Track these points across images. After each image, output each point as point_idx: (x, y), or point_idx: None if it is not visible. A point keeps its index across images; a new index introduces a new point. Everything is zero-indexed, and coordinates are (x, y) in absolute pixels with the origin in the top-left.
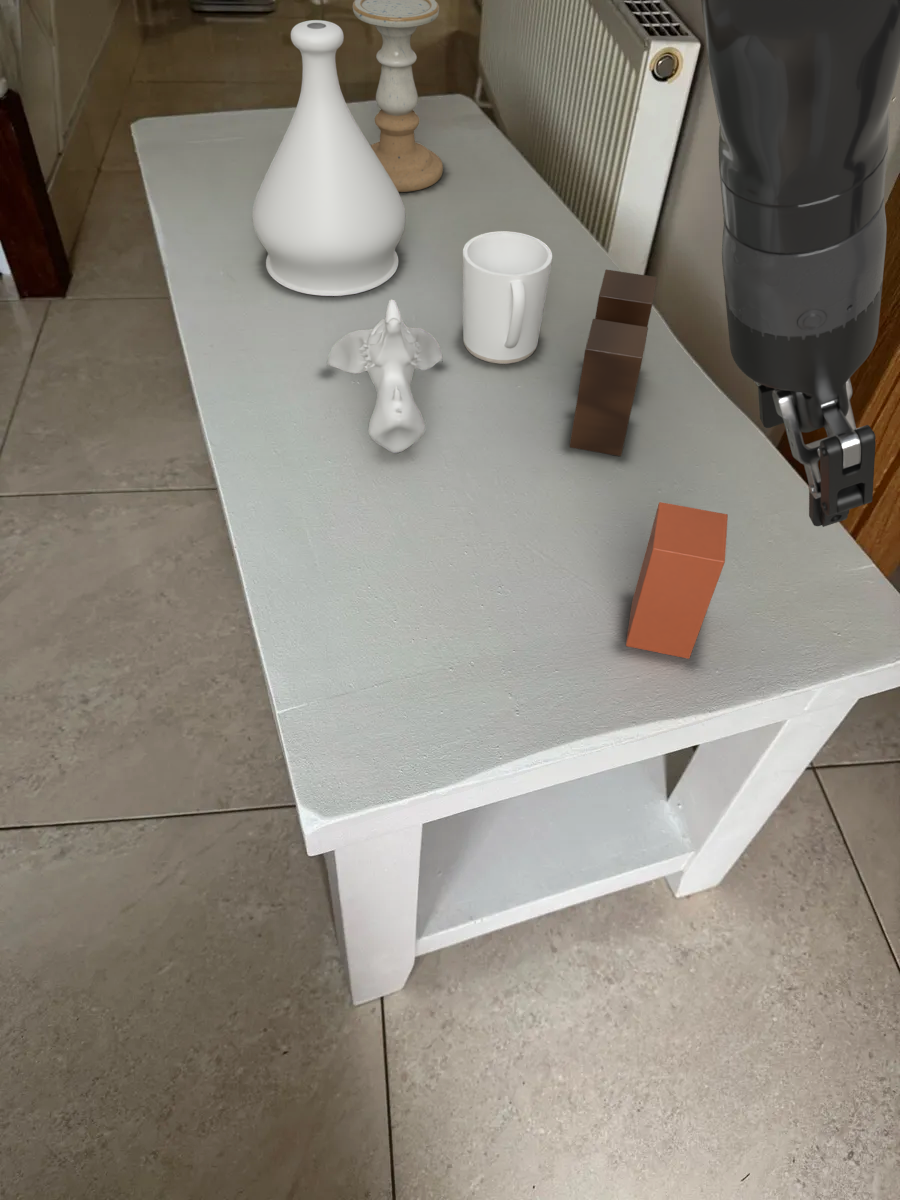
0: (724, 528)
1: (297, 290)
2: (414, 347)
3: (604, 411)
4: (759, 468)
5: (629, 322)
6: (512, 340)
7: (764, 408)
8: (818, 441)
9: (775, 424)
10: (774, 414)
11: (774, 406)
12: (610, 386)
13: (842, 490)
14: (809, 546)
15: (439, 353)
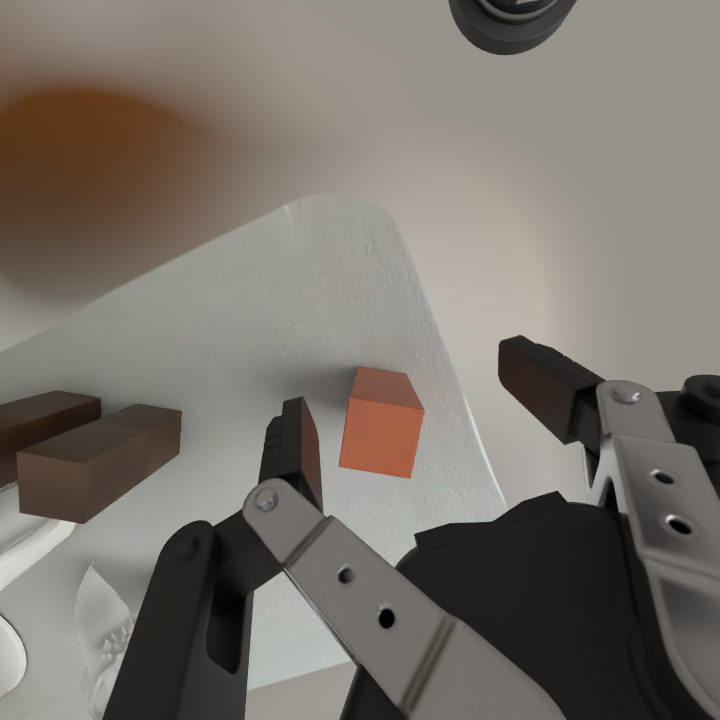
0: (373, 404)
1: (24, 670)
2: (118, 660)
3: (147, 452)
4: (170, 286)
5: (2, 449)
6: (53, 525)
7: (319, 472)
8: (610, 508)
9: (312, 420)
10: (314, 441)
11: (314, 456)
12: (122, 466)
13: (712, 445)
14: (267, 255)
15: (89, 577)
